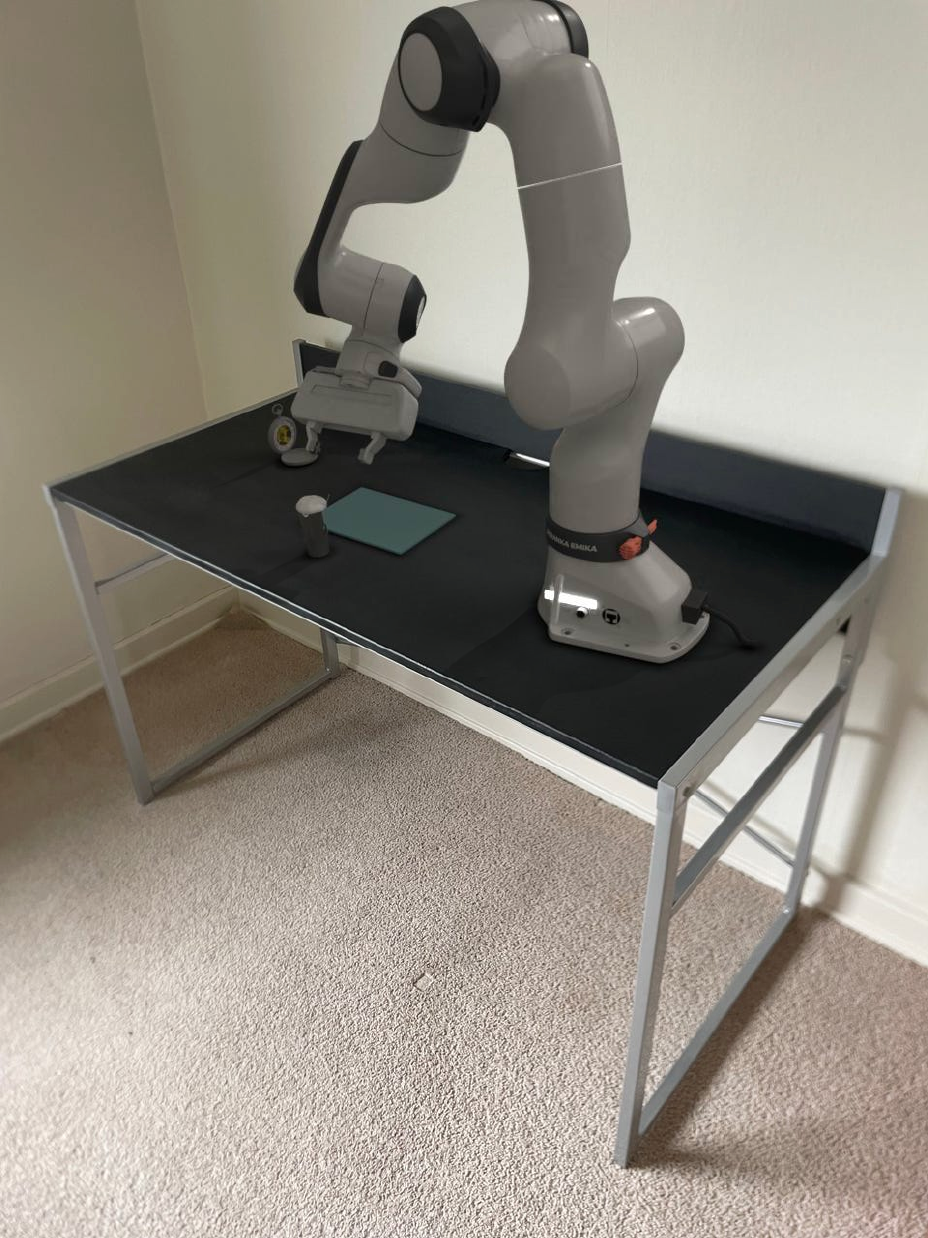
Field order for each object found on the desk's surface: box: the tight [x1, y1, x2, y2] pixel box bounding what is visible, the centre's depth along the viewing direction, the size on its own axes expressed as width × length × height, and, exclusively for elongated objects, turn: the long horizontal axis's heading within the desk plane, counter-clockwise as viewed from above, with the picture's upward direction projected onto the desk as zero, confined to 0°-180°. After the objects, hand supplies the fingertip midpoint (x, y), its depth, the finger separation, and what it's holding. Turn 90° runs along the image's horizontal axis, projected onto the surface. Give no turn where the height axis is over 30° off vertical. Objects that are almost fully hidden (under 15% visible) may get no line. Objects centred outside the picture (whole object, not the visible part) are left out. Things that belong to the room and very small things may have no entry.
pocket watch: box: [267, 403, 319, 467], centre depth 166 cm, size 8×8×10 cm
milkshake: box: [295, 493, 331, 559], centre depth 137 cm, size 4×5×10 cm
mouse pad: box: [327, 486, 457, 556], centre depth 147 cm, size 20×14×1 cm
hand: (337, 457), depth 138 cm, fingers open, 8 cm apart
